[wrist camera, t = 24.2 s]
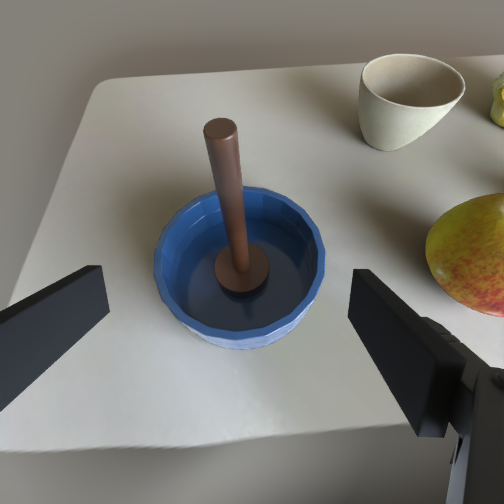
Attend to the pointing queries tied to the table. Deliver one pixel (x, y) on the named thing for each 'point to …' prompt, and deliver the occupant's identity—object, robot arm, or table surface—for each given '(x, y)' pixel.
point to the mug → (498, 101)
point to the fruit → (471, 253)
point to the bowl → (206, 285)
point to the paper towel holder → (233, 215)
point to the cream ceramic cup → (405, 98)
